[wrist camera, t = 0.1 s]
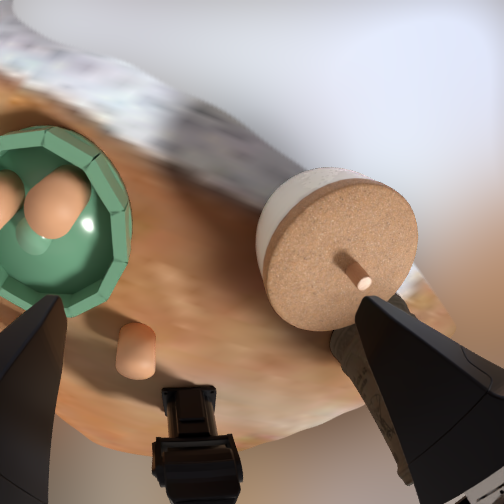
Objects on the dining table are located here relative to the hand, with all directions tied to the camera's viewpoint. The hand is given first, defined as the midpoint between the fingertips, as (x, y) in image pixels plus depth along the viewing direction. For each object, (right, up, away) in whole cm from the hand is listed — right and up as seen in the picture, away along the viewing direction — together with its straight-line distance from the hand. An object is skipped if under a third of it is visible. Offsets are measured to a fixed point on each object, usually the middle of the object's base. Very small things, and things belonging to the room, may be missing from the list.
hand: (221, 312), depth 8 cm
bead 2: (-12, +6, +10) cm, 17 cm away
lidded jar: (+5, +5, +16) cm, 18 cm away
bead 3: (-10, -6, +19) cm, 22 cm away
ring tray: (-15, +4, +11) cm, 19 cm away
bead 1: (-17, +6, +8) cm, 20 cm away
